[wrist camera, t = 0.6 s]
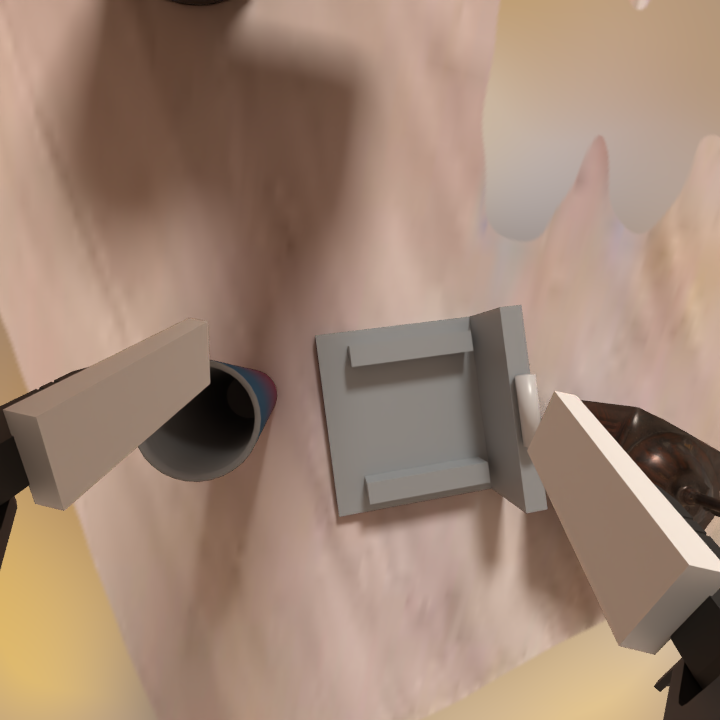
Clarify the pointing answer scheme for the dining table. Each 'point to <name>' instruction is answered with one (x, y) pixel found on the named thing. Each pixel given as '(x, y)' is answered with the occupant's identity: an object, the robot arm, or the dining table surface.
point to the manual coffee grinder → (666, 457)
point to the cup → (214, 426)
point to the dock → (431, 411)
